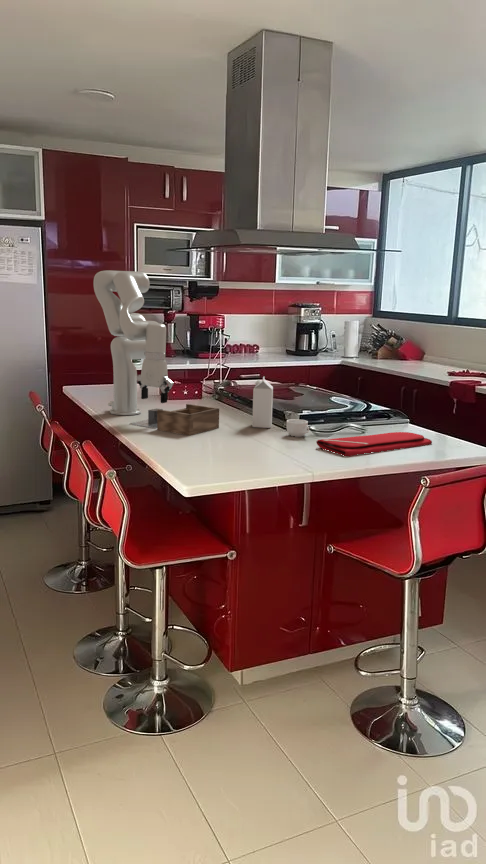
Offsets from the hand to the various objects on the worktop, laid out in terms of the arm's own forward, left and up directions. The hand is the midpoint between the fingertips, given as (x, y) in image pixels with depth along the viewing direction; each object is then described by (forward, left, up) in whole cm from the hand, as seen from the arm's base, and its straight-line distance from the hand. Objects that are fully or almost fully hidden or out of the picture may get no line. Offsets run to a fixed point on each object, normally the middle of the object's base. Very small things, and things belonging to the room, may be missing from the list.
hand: (154, 400), depth 266 cm
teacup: (+55, +16, -9) cm, 58 cm away
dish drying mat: (+83, +19, -10) cm, 86 cm away
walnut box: (+17, 0, -9) cm, 19 cm away
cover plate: (+1, 0, -9) cm, 9 cm away
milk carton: (+35, +23, -9) cm, 43 cm away
